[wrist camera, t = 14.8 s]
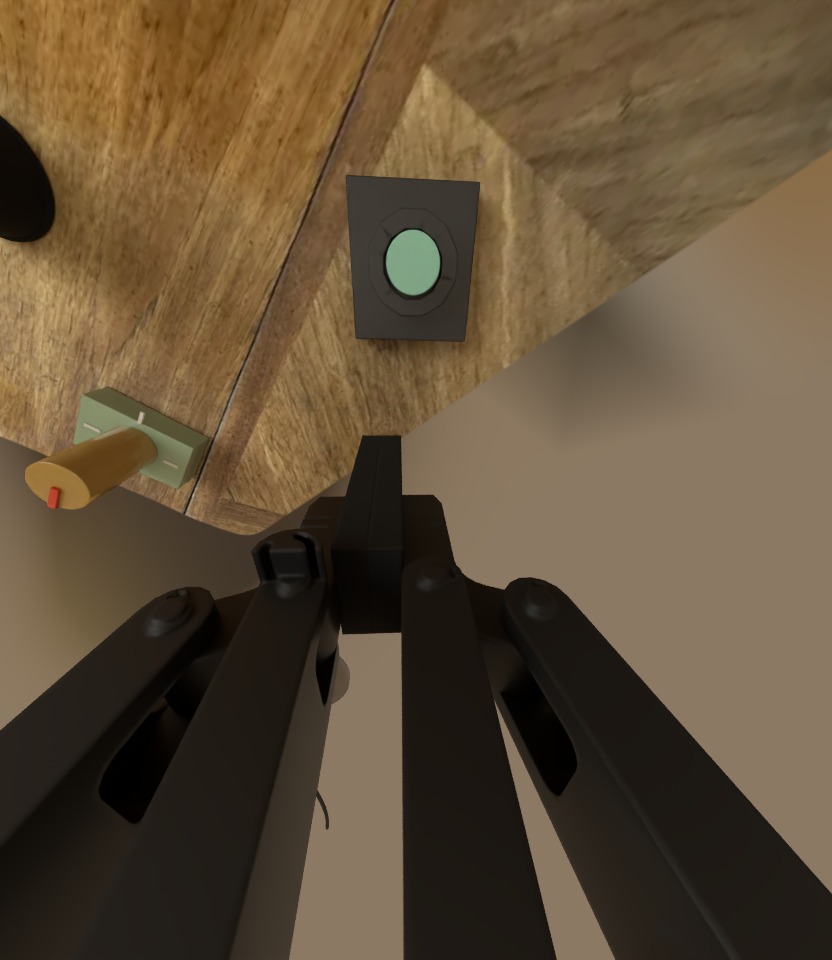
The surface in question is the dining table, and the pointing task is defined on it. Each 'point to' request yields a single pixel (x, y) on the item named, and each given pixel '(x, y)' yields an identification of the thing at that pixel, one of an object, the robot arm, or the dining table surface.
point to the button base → (373, 226)
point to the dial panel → (170, 437)
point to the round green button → (413, 262)
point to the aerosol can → (22, 190)
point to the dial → (90, 467)
